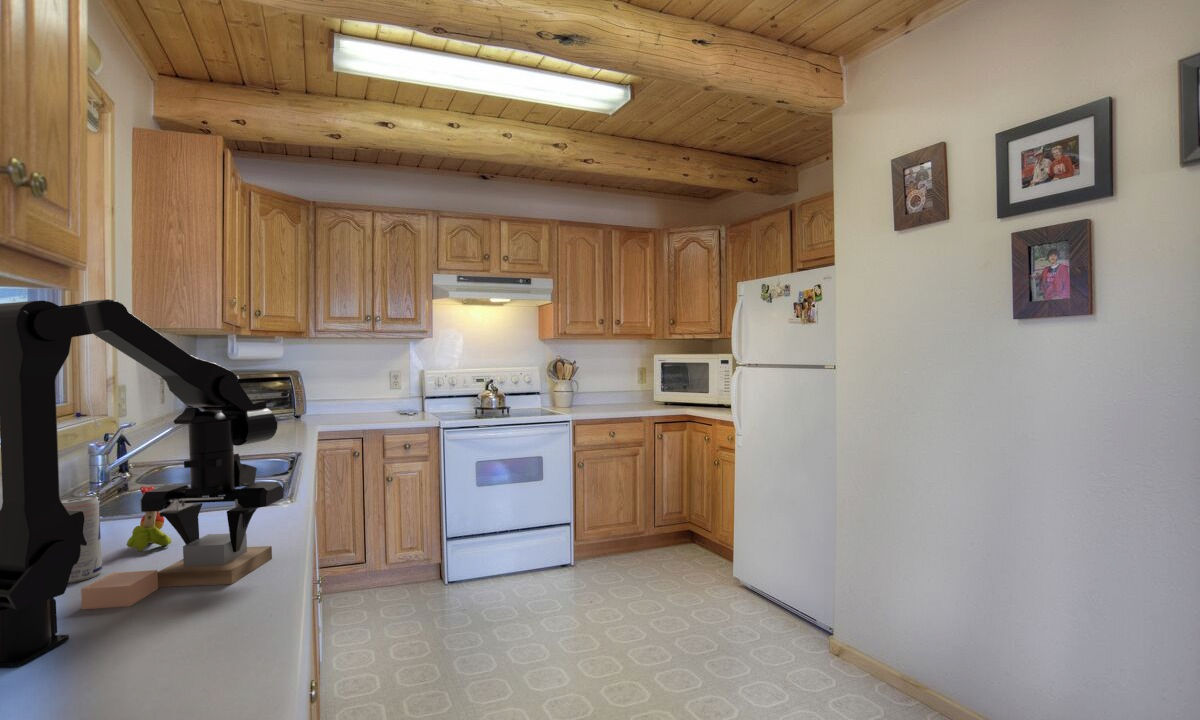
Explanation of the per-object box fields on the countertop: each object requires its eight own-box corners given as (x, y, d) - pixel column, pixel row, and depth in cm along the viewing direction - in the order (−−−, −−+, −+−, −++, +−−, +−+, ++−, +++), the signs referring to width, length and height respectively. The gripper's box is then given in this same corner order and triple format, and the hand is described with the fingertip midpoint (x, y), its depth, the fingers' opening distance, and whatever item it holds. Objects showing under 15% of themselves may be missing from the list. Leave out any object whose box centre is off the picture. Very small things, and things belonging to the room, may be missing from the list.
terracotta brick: (130, 608, 82) (129, 585, 82) (82, 611, 81) (81, 588, 81) (158, 590, 88) (157, 570, 88) (113, 593, 87) (112, 572, 87)
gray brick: (224, 564, 91) (223, 544, 91) (183, 566, 91) (182, 546, 91) (247, 551, 97) (246, 532, 97) (208, 553, 97) (207, 534, 97)
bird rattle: (129, 558, 109) (125, 549, 102) (128, 497, 112) (125, 484, 105) (172, 551, 112) (171, 542, 105) (170, 492, 116) (169, 479, 109)
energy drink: (97, 568, 97) (93, 493, 97) (106, 575, 94) (102, 497, 94) (52, 578, 93) (49, 500, 93) (60, 586, 90) (56, 505, 90)
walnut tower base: (231, 584, 88) (231, 570, 88) (155, 586, 88) (154, 573, 88) (272, 558, 99) (271, 546, 99) (204, 560, 99) (203, 548, 99)
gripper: (298, 440, 102) (302, 534, 102) (185, 445, 101) (189, 538, 102) (262, 451, 90) (266, 556, 91) (135, 456, 90) (140, 561, 90)
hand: (216, 552), depth 94 cm, fingers closed on gray brick, 6 cm apart
